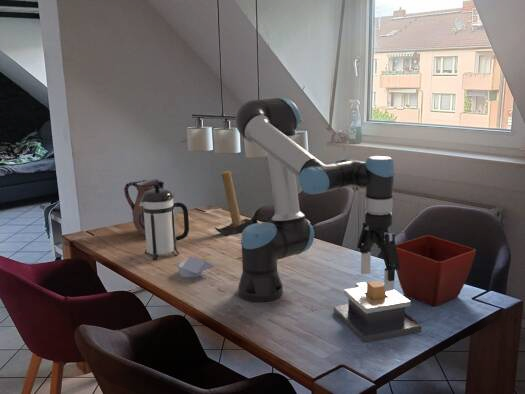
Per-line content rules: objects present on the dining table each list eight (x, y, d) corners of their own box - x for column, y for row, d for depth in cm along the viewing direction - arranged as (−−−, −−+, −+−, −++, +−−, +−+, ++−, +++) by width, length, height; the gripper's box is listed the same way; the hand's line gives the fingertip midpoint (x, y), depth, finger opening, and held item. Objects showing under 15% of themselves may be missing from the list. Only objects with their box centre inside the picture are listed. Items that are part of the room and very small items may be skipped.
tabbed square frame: (364, 342, 145) (365, 314, 143) (333, 312, 163) (333, 286, 161) (421, 331, 150) (422, 304, 148) (385, 303, 168) (385, 278, 166)
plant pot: (474, 297, 171) (477, 248, 167) (437, 314, 160) (440, 262, 156) (425, 280, 186) (428, 234, 182) (388, 294, 176) (390, 246, 172)
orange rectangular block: (372, 319, 154) (373, 287, 151) (366, 313, 157) (367, 282, 155) (385, 317, 155) (386, 285, 153) (378, 311, 159) (379, 280, 156)
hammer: (221, 241, 241) (207, 179, 231) (216, 238, 245) (202, 178, 235) (258, 226, 250) (246, 166, 240) (253, 224, 254) (241, 165, 244)
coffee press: (171, 262, 209) (166, 189, 202) (136, 258, 215) (130, 187, 207) (190, 248, 225) (186, 180, 218) (157, 245, 230) (152, 178, 223)
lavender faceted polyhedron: (215, 274, 196) (192, 266, 205) (214, 257, 195) (191, 250, 203) (197, 282, 190) (174, 273, 198) (196, 264, 188) (173, 256, 197)
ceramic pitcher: (169, 238, 240) (165, 185, 234) (122, 240, 239) (118, 186, 233) (174, 227, 257) (171, 177, 251) (131, 228, 256) (127, 178, 250)
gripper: (415, 221, 138) (411, 296, 143) (369, 200, 161) (367, 265, 166) (390, 224, 136) (387, 300, 141) (346, 202, 159) (346, 268, 164)
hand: (376, 281), depth 154 cm, fingers open, 13 cm apart
